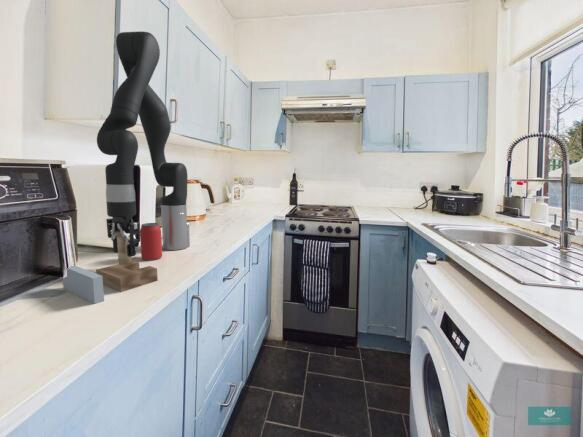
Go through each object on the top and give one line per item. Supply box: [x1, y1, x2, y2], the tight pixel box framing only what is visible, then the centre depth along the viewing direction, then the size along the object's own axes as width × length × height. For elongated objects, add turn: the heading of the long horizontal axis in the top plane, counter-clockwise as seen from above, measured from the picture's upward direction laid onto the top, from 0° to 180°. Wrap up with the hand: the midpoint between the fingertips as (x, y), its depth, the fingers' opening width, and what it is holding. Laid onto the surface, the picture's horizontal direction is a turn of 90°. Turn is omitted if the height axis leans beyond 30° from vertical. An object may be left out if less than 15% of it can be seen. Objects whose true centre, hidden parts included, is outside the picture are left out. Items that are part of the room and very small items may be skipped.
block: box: [95, 260, 158, 293], centre depth 82 cm, size 10×12×4 cm
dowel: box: [117, 231, 133, 264], centre depth 91 cm, size 4×4×12 cm
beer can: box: [140, 222, 163, 261], centre depth 103 cm, size 7×7×12 cm
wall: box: [62, 264, 105, 305], centre depth 72 cm, size 2×16×6 cm, turn 58°
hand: (124, 254), depth 91 cm, fingers open, 7 cm apart
